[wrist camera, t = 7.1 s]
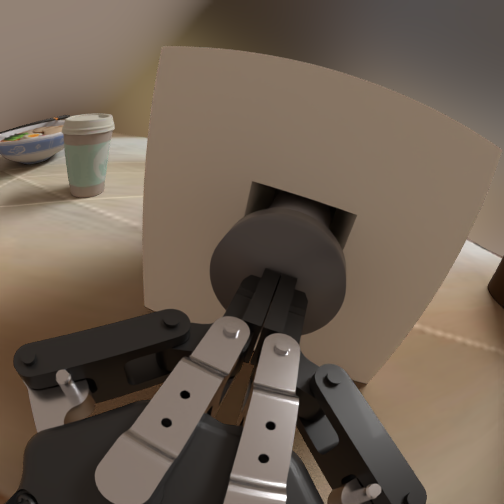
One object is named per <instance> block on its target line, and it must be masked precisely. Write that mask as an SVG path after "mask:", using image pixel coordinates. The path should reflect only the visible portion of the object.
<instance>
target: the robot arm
mask: <svg viewBox="0 0 504 504" xmlns="http://www.w3.org/2000/svg"><path fill="white" fill-rule="evenodd" d="M280 274H281V273H280V272H277V271H274V270H271V269H268V268H265V270H264V273H263V275H262V277H261V278H260V277H257V276H254V275H249V276H248V277H246V278H245V279H243V281H242V282H241V284H240V286H239V288H238V290H237V292H236V294H235V295H234V297H233V299H232V301H231V303H230V305H229V306H228V308H227V310H226V312H225V314H224V315H223V317H221V318H219V319H217V320H216V321H215V322H214V323H211V324H199V323H191V322H190V319H189V317H188V316H187V315H186V314H185V313H184V312H182V311H180V310H177V309H165V310H161V311H157V312H154V313H150V314H146V315H142V316H139V317H135V318H131V319H127V320H123V321H120V322H116V323H112V324H108V325H104V326H100V327H96V328H92V329H88V330H84V331H80V332H76V333H72V334H68V335H63V336H59V337H55V338H51V339H46V340H42V341H37V342H33V343H29V344H25V345H23V346H21V347H20V348H19V349H18V350H17V351H16V353H15V355H14V360H13V363H14V367H15V369H16V371H17V372H18V374H19V375H20V377H21V378H22V379H23V382H24V383H25V385H26V386H27V388H28V393H29V398H30V403H31V408H32V413H33V417H34V421H35V425H36V429H37V434H35V435H34V436H33V437H32V438H31V439H30V440H29V442H28V444H27V446H26V448H25V451H24V461H23V474H22V479H21V483H20V486H19V488H18V490H17V491H16V493H15V494H14V495H13V496H12V497H11V498H10V499H9V500H8V501H7V502H6V503H4V504H324V502H323V500H322V498H321V497H320V495H319V493H318V491H317V489H316V487H315V485H314V483H313V481H312V479H311V477H310V475H309V473H308V471H307V469H306V467H305V465H304V463H303V462H302V460H301V459H300V458H299V456H298V455H297V454H296V453H295V452H294V451H293V450H292V447H293V441H294V434H295V427H296V426H297V428H298V430H299V431H300V433H301V435H302V437H303V439H304V441H305V442H306V444H307V446H308V448H309V450H310V451H311V453H312V455H313V457H314V459H315V460H316V462H317V464H318V466H319V467H320V469H321V471H322V473H323V474H324V476H325V478H326V480H327V481H328V483H329V485H330V486H331V488H332V491H331V493H330V494H329V496H328V500H327V504H426V499H427V495H426V491H425V489H424V487H423V485H422V484H421V482H420V481H419V479H418V478H417V476H416V475H415V473H414V472H413V470H412V469H411V467H410V466H409V464H408V463H407V461H406V460H405V458H404V457H403V455H402V454H401V452H400V451H399V449H398V448H397V446H396V445H395V443H394V442H393V440H392V439H391V437H390V436H389V434H388V433H387V431H386V430H385V428H384V427H383V425H382V424H381V422H380V421H379V419H378V418H377V416H376V415H375V413H374V412H373V410H372V409H371V407H370V406H369V405H368V403H367V402H366V400H365V399H364V397H363V396H362V394H361V393H360V391H359V390H358V388H357V387H356V385H355V384H354V382H353V381H352V379H351V378H350V377H349V375H348V374H347V372H346V371H345V370H344V369H342V368H341V367H339V366H337V365H334V364H324V365H322V366H320V367H319V366H317V365H316V364H314V363H313V362H311V361H310V360H308V359H307V358H306V357H305V356H304V355H303V353H302V351H301V349H300V338H301V334H302V329H303V324H304V319H305V314H306V309H307V304H308V300H307V297H306V294H305V292H302V291H299V290H296V289H295V286H296V282H297V278H295V277H292V276H289V275H286V274H283V273H282V276H281V278H280V281H279V284H278V287H277V290H276V293H275V295H274V292H275V289H276V286H277V283H278V280H279V277H280ZM273 295H274V298H273ZM272 298H273V301H272ZM271 301H272V304H271ZM270 304H271V307H270ZM269 307H270V309H269ZM268 310H269V312H268ZM267 313H268V315H267ZM266 315H267V318H266ZM265 318H266V320H265ZM264 321H265V323H264ZM263 323H264V326H263ZM262 326H263V329H262ZM261 329H262V332H261ZM260 332H261V334H260ZM259 334H260V337H259ZM258 337H259V340H258ZM257 340H258V343H257V346H256V349H255V351H254V354H253V357H252V360H251V362H250V364H252V365H254V368H253V371H252V374H251V376H250V379H249V382H248V385H247V389H246V393H245V396H244V400H243V404H242V407H241V411H240V414H239V418H238V421H237V424H236V425H227V424H223V423H221V422H219V421H218V420H216V419H215V417H216V414H217V412H218V410H219V408H220V406H221V404H222V403H223V401H224V399H225V397H226V395H227V393H228V391H229V390H230V388H231V386H232V384H233V382H234V380H235V378H236V376H237V374H238V373H239V371H240V369H241V367H242V365H243V362H246V363H249V361H250V358H251V355H252V353H253V350H254V347H255V345H256V342H257ZM163 382H164V383H163ZM160 383H163V385H162V386H161V387H160V389H159V390H158V391H157V393H156V394H155V395H154V397H153V398H152V400H141V401H137V402H133V403H130V404H128V405H125V406H122V407H119V408H116V409H113V410H110V411H107V412H104V413H101V414H98V415H95V416H92V417H88V416H90V415H91V414H92V412H93V411H94V409H95V404H96V403H99V402H103V401H106V400H110V399H113V398H116V397H120V396H123V395H126V394H130V393H133V392H136V391H139V390H142V389H145V388H148V387H151V386H154V385H157V384H160ZM86 417H88V418H86ZM84 418H85V419H84Z"/></svg>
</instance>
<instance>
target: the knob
mask: <svg viewBox="0 0 504 504" xmlns="http://www.w3.org/2000/svg"><path fill="white" fill-rule="evenodd" d="M265 268H268V269H271V270H274V271H277V272H280V273H281V274H280V277H279V280H278V283H277V286H276V289H275V292H274V295H275V293H276V290H277V287H278V284H279V281H280V278H281V276H282V273H283V274H286V275H289V276H292V277H295V278H297V282H296V286H295V289H296V290H299V291H302V292H305V294H306V297H307V300H308V304H307V309H306V314H305V319H304V324H303V329H302V334H301V335H306V334H309V333H312V332H314V331H316V330H318V329H320V328H322V327H324V326H325V325H327V324H328V323H329V322H330V321H331V320H332V319H333V318H334V317H335V316H336V315H337V313H338V312H339V310H340V308H341V306H342V304H343V302H344V298H345V294H346V262H345V257H344V253H343V250H342V248H341V246H340V244H339V242H338V241H337V239H336V237H335V236H334V235H333V234H332V232H331V231H330V209H329V206H328V205H327V204H324V203H321V202H318V201H315V200H312V199H309V198H306V197H303V196H300V195H296V194H293V193H290V192H287V191H284V190H283V191H282V192H280V193H279V194H278V195H277V196H276V198H275V199H274V201H273V202H272V204H271V205H270V207H269V208H268V209H263V210H259V211H256V212H253V213H251V214H248V215H246V216H245V217H243V218H242V219H240V220H239V221H238V222H237V223H235V224H234V226H233V227H232V228H231V229H230V230H229V231H228V233H227V234H226V235H225V236H224V237H223V239H222V240H221V241H220V242H219V243H218V245H217V247H216V248H215V250H214V252H213V255H212V257H211V262H210V271H209V272H210V281H211V285H212V288H213V291H214V293H215V295H216V297H217V299H218V301H219V302H220V304H221V305H222V306H223V308H224V309H225V310H227V308H228V306H229V305H230V303H231V301H232V299H233V297H234V295H235V294H236V292H237V290H238V288H239V286H240V284H241V282H242V281H243V279H245V278H246V277H248V276H249V275H254V276H257V277H260V278H261V277H262V275H263V273H264V270H265ZM274 295H273V298H274ZM273 298H272V301H273ZM272 301H271V304H272ZM271 304H270V307H271ZM270 307H269V309H270ZM268 312H269V310H268ZM267 315H268V313H267ZM267 315H266V318H267ZM266 318H265V320H266ZM264 323H265V321H264ZM264 323H263V326H264ZM263 326H262V329H263ZM262 329H261V332H262ZM261 332H260V333H261Z"/></svg>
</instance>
